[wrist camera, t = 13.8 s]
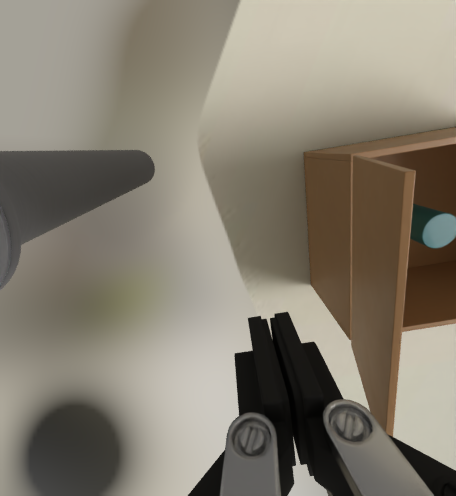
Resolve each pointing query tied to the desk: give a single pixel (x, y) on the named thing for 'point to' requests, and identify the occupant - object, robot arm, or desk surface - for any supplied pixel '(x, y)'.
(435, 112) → the desk surface
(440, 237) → the teal cylinder
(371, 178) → the flap
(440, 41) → the desk surface
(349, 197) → the carton
